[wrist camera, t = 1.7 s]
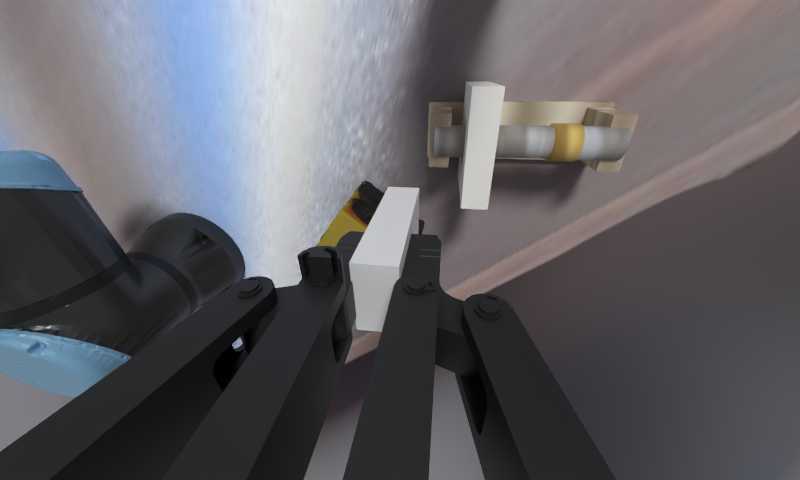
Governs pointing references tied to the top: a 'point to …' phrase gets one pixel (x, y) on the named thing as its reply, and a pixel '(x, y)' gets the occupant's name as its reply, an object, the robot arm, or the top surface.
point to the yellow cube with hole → (356, 214)
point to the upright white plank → (479, 142)
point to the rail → (538, 120)
